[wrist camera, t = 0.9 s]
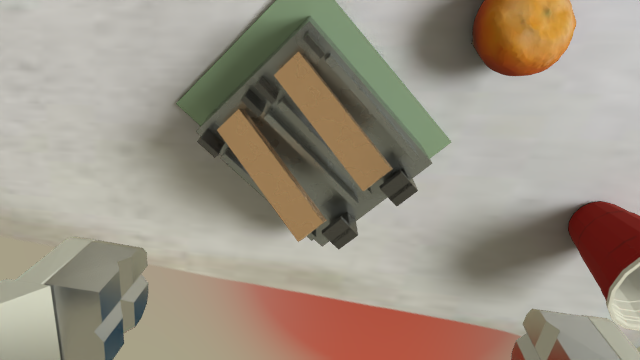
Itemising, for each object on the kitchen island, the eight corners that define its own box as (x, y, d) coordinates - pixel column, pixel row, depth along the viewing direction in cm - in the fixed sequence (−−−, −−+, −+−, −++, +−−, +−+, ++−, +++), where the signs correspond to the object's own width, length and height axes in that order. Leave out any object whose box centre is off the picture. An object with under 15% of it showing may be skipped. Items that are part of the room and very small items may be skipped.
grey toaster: (208, 115, 43) (187, 143, 35) (310, 15, 38) (308, 24, 31) (321, 221, 48) (322, 263, 41) (420, 144, 44) (440, 176, 37)
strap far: (222, 130, 37) (216, 129, 36) (244, 109, 37) (238, 108, 36) (302, 239, 36) (298, 241, 35) (326, 220, 35) (323, 222, 34)
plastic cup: (574, 275, 52) (640, 353, 42) (528, 221, 49) (588, 291, 38) (658, 225, 49) (753, 295, 38) (616, 163, 46) (708, 221, 35)
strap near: (278, 77, 35) (273, 75, 34) (302, 54, 35) (298, 51, 34) (365, 190, 34) (362, 191, 33) (393, 168, 33) (391, 169, 32)
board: (177, 101, 43) (176, 103, 42) (307, -33, 37) (307, -33, 37) (323, 236, 50) (323, 239, 49) (449, 140, 44) (451, 142, 44)
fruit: (439, 66, 40) (492, 33, 32) (466, -7, 41) (524, -55, 33) (508, 102, 41) (575, 80, 33) (533, 32, 42) (603, -6, 34)
